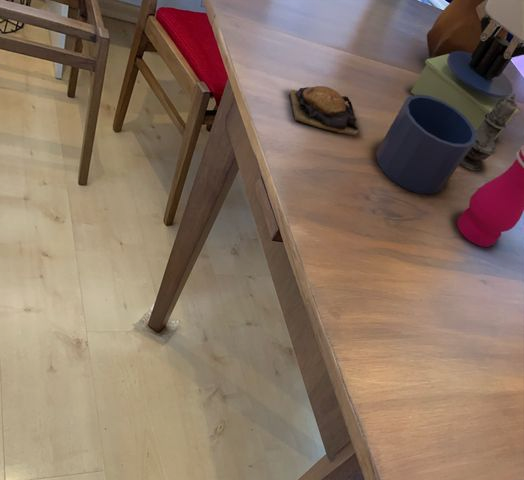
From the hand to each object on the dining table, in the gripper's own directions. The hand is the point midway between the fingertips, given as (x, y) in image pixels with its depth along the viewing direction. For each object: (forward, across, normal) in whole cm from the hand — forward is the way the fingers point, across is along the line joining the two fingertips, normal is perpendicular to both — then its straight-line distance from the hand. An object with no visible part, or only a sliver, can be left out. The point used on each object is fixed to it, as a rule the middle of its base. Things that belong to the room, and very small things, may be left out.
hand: (482, 70), depth 93 cm
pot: (+9, -6, +22) cm, 25 cm away
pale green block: (+9, 0, 0) cm, 9 cm away
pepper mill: (+9, -20, +24) cm, 32 cm away
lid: (+1, 0, 0) cm, 1 cm away
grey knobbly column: (+9, -9, +9) cm, 15 cm away
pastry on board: (+9, +9, +28) cm, 30 cm away
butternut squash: (+9, +10, -12) cm, 18 cm away
